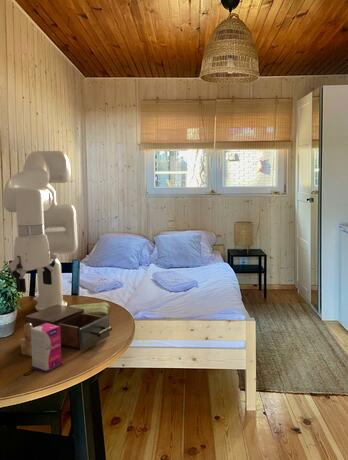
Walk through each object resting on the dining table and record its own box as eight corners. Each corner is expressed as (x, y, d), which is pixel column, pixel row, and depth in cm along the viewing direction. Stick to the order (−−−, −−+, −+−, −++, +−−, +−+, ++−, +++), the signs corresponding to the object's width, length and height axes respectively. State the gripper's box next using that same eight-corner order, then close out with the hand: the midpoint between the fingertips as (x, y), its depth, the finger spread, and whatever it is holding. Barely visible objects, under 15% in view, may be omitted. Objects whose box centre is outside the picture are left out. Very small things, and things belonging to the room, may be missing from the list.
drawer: (119, 337, 136) (118, 317, 135) (93, 352, 124) (92, 331, 123) (82, 330, 143) (81, 311, 142) (54, 344, 132) (53, 323, 131)
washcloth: (65, 311, 168) (65, 303, 168) (110, 308, 169) (109, 301, 169) (59, 321, 155) (59, 313, 155) (107, 319, 156) (107, 311, 156)
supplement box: (46, 372, 114) (44, 332, 112) (32, 368, 117) (29, 328, 116) (62, 364, 119) (60, 325, 117) (48, 360, 122) (46, 322, 120)
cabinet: (85, 332, 143) (84, 308, 142) (54, 347, 131) (53, 321, 130) (58, 327, 149) (56, 304, 148) (26, 341, 137) (24, 316, 136)
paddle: (20, 354, 127) (18, 323, 125) (27, 351, 129) (25, 320, 128) (32, 357, 124) (30, 325, 123) (39, 354, 126) (37, 323, 125)
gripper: (45, 227, 132) (48, 280, 134) (-3, 233, 117) (1, 293, 119) (62, 228, 128) (65, 282, 130) (15, 235, 113) (19, 296, 115)
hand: (34, 287), depth 125 cm, fingers open, 9 cm apart
